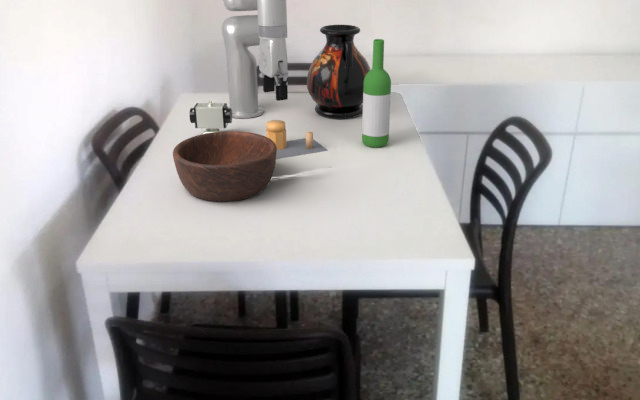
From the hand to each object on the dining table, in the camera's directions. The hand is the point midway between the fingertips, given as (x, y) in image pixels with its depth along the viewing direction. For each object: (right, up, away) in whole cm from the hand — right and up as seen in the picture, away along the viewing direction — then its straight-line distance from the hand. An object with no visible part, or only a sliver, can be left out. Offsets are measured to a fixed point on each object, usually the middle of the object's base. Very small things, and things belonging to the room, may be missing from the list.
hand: (275, 95), depth 175 cm
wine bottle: (+28, -12, +12) cm, 33 cm away
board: (+4, -15, +6) cm, 17 cm away
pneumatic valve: (-19, -11, +15) cm, 27 cm away
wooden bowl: (-11, -25, -15) cm, 31 cm away
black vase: (+19, +1, +40) cm, 44 cm away
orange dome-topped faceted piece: (0, -13, +7) cm, 15 cm away
